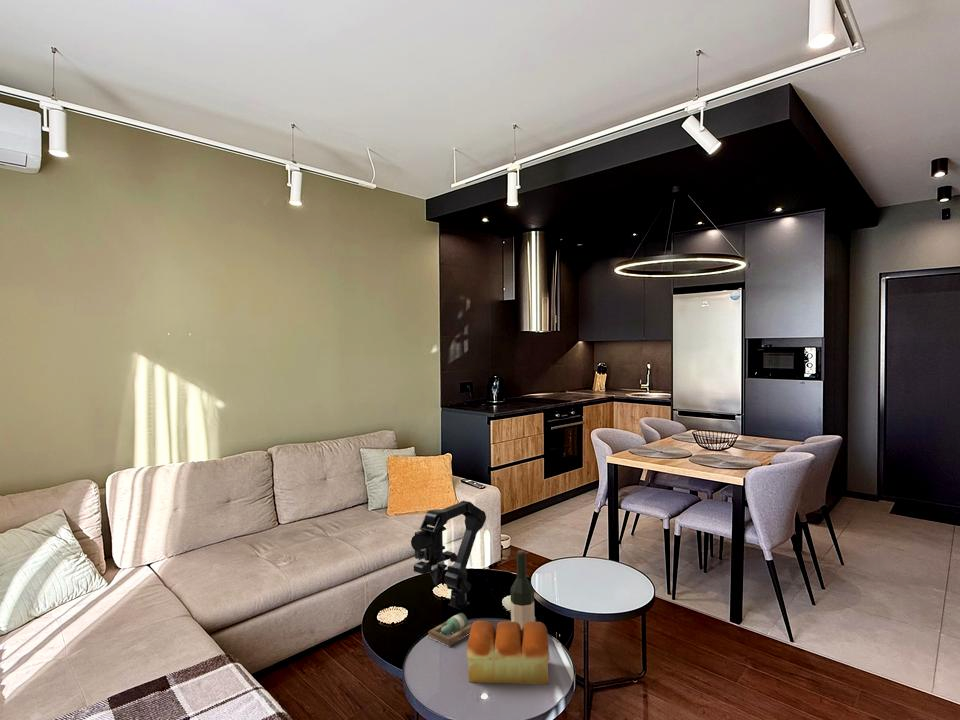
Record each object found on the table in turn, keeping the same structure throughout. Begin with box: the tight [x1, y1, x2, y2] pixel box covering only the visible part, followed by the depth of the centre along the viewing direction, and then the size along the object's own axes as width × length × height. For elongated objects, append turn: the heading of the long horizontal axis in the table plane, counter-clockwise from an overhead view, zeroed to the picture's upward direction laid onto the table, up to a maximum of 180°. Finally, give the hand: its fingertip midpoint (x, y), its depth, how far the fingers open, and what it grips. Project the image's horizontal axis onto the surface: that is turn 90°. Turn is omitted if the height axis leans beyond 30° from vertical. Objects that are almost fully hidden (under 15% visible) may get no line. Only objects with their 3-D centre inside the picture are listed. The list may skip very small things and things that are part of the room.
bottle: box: [441, 612, 469, 636], centre depth 190 cm, size 6×6×10 cm
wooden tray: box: [427, 620, 474, 647], centre depth 189 cm, size 14×10×2 cm
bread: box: [466, 620, 550, 685], centre depth 165 cm, size 25×12×15 cm, turn 85°
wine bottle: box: [509, 549, 536, 634], centre depth 187 cm, size 8×8×30 cm
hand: (436, 584), depth 203 cm, fingers closed
